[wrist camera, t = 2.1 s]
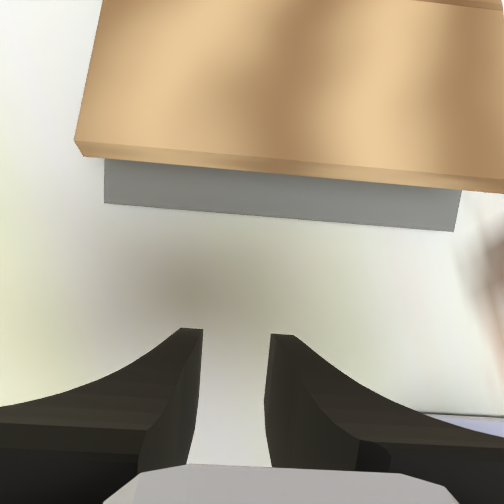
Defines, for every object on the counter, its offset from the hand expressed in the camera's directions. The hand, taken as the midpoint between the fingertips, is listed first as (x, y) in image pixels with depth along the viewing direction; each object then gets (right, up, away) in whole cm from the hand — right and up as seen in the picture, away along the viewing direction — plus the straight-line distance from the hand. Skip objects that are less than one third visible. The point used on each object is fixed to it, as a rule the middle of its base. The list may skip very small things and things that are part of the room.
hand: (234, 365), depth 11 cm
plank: (+2, +10, +4) cm, 11 cm away
